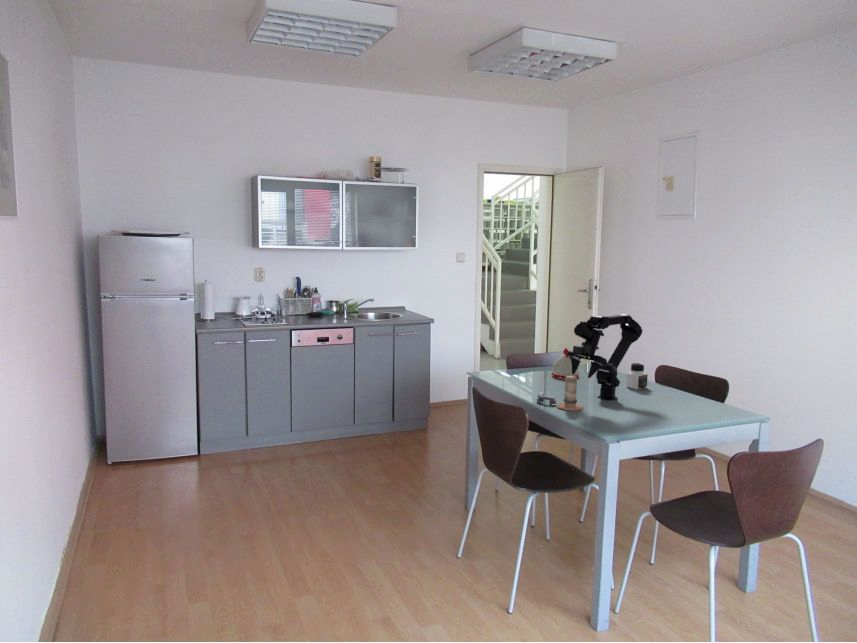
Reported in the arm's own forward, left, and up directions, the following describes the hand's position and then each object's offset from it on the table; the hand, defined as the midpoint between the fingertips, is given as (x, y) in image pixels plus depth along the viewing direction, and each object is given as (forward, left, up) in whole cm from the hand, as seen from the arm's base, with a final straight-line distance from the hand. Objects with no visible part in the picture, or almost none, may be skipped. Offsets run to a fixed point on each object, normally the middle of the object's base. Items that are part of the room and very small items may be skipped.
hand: (580, 376), depth 282 cm
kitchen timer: (-34, -46, -13) cm, 59 cm away
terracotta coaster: (+8, +2, -13) cm, 15 cm away
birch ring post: (+8, +2, -12) cm, 15 cm away
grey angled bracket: (+12, -10, -13) cm, 20 cm away
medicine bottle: (-47, -9, -13) cm, 49 cm away
